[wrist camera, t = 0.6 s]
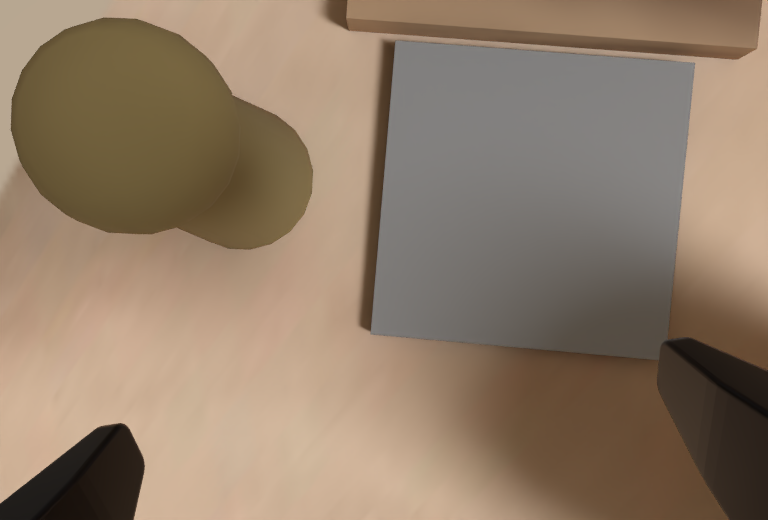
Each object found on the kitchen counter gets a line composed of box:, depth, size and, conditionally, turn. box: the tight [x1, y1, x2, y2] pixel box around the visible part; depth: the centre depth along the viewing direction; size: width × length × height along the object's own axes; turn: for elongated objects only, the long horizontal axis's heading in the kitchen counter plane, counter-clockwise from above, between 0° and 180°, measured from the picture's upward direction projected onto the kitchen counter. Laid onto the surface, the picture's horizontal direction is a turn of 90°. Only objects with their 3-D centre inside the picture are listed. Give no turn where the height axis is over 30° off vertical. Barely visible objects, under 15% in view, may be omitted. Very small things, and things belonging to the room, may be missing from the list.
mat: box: [371, 41, 695, 360], centre depth 22 cm, size 12×12×1 cm
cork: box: [11, 18, 313, 249], centre depth 17 cm, size 6×6×11 cm
